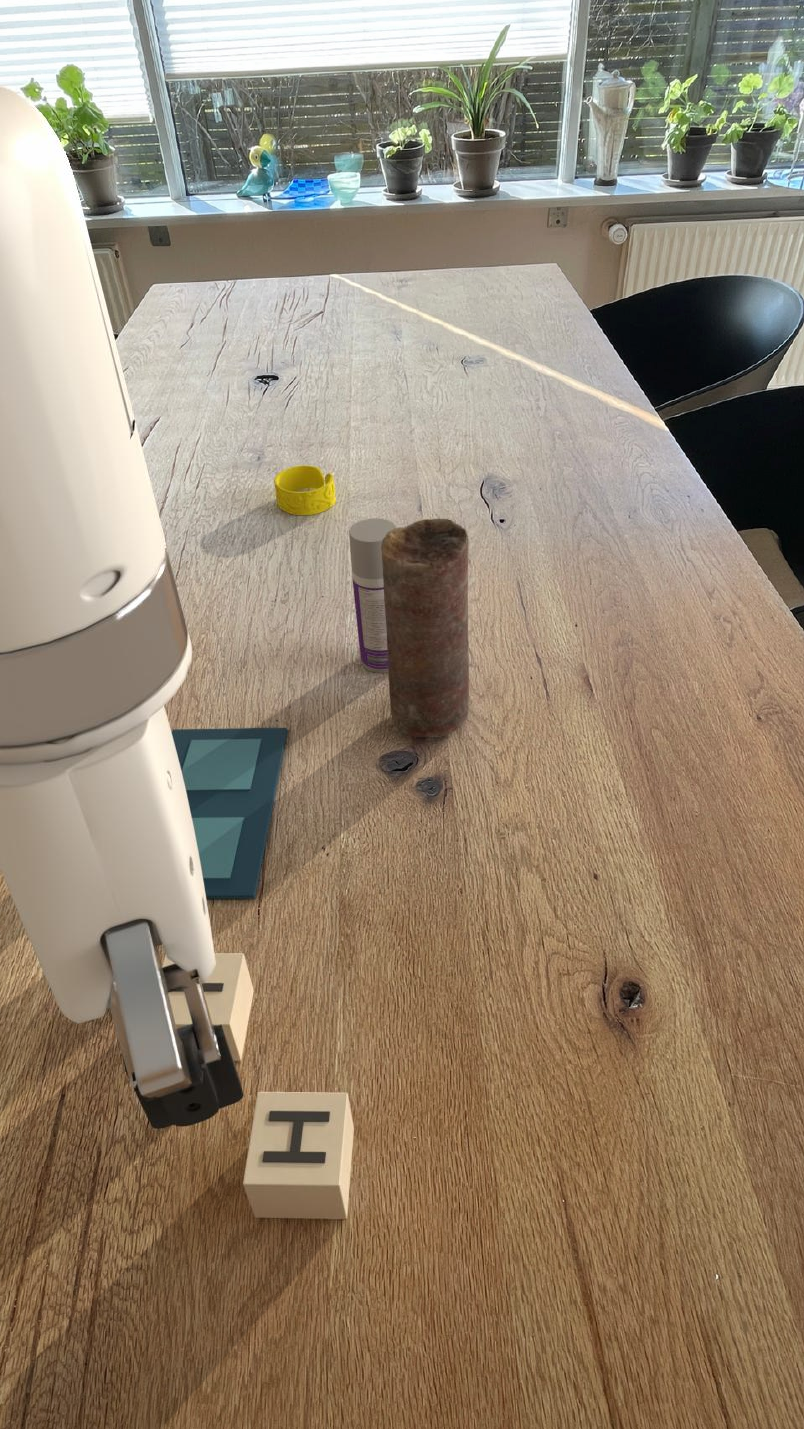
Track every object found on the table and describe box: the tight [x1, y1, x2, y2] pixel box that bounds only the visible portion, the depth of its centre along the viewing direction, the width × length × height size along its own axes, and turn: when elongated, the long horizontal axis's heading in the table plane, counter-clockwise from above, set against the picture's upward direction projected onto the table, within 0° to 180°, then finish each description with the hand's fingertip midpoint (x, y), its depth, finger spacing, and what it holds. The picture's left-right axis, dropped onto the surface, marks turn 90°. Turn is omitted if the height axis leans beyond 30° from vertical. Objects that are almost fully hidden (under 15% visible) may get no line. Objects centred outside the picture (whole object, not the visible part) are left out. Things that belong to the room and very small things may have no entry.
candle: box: [381, 518, 470, 738], centre depth 83 cm, size 8×7×20 cm
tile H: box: [242, 1091, 355, 1220], centre depth 57 cm, size 6×6×5 cm
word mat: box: [171, 727, 288, 900], centre depth 82 cm, size 11×20×1 cm, turn 178°
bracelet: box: [273, 464, 337, 516], centre depth 124 cm, size 7×8×3 cm
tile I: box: [162, 952, 255, 1062], centre depth 65 cm, size 6×6×5 cm
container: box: [348, 517, 397, 674], centre depth 93 cm, size 5×5×15 cm
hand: (177, 994), depth 37 cm, fingers open, 9 cm apart
